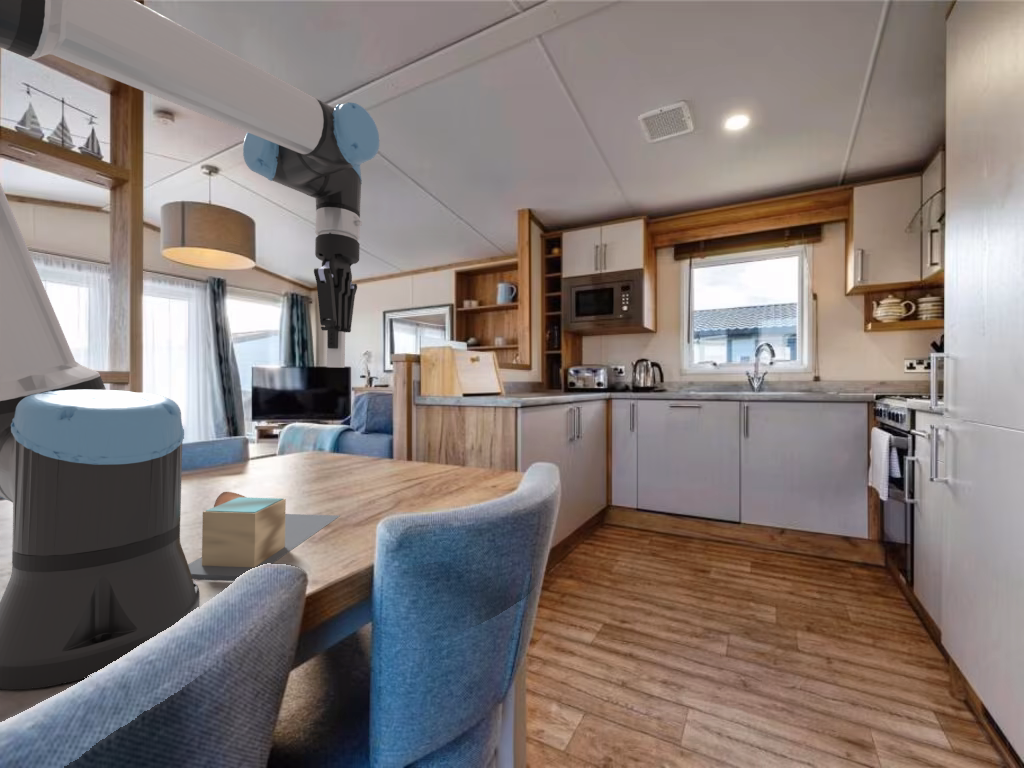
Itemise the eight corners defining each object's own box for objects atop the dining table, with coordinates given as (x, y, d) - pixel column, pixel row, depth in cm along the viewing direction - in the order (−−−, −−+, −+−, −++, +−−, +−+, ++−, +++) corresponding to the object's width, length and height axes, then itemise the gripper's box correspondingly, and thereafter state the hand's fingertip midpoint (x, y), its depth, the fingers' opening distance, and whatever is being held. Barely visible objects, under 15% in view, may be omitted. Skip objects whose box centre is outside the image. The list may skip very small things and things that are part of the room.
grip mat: (253, 581, 53) (253, 576, 53) (170, 578, 54) (170, 573, 54) (340, 518, 78) (340, 515, 78) (283, 517, 78) (283, 513, 78)
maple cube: (285, 498, 63) (284, 546, 63) (238, 496, 63) (237, 545, 63) (255, 512, 56) (254, 567, 56) (202, 511, 56) (201, 565, 56)
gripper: (342, 225, 73) (340, 366, 73) (371, 249, 86) (368, 368, 86) (299, 225, 73) (296, 365, 73) (333, 249, 86) (331, 368, 86)
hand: (335, 367), depth 79 cm, fingers closed
